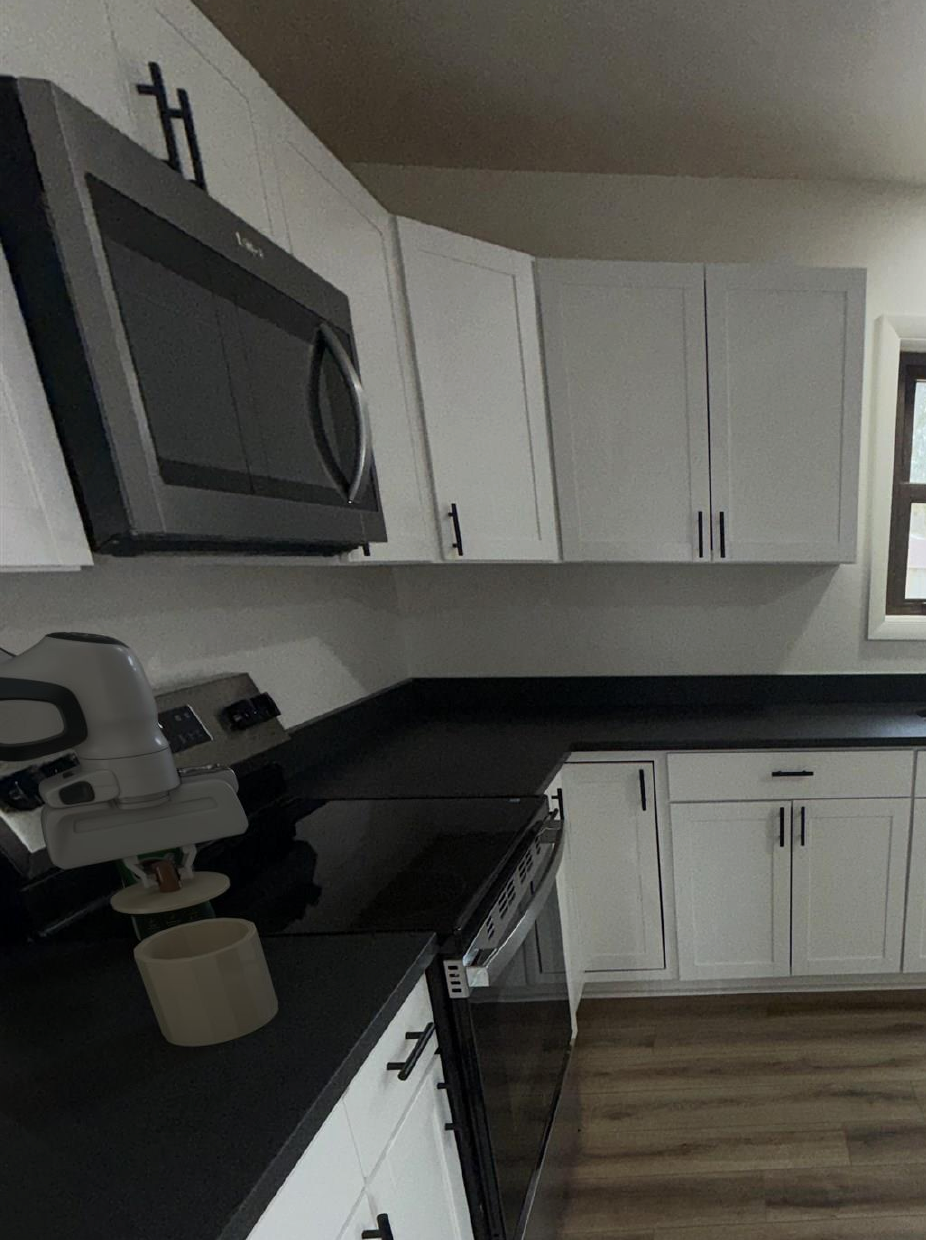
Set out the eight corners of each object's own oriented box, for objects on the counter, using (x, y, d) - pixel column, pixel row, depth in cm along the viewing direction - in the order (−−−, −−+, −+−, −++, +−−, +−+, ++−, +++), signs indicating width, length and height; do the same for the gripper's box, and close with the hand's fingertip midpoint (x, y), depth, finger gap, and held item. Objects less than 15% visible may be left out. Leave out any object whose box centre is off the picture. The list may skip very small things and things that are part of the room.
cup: (197, 1057, 91) (167, 971, 87) (143, 1029, 96) (112, 947, 92) (298, 1010, 100) (276, 931, 96) (244, 987, 106) (221, 910, 101)
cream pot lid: (145, 926, 98) (131, 889, 96) (93, 905, 104) (80, 870, 102) (252, 891, 108) (242, 856, 106) (199, 873, 114) (189, 841, 112)
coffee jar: (218, 916, 126) (181, 796, 118) (217, 935, 119) (178, 810, 112) (140, 930, 121) (96, 807, 113) (135, 950, 115) (89, 822, 107)
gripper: (224, 756, 108) (253, 856, 114) (20, 786, 95) (64, 898, 100) (238, 764, 104) (267, 868, 109) (27, 797, 91) (72, 913, 96)
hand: (168, 882), depth 105 cm, fingers closed on cream pot lid, 2 cm apart
